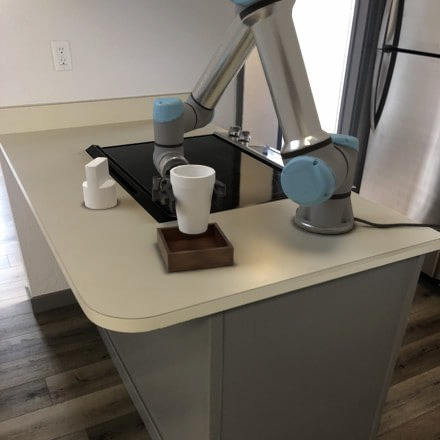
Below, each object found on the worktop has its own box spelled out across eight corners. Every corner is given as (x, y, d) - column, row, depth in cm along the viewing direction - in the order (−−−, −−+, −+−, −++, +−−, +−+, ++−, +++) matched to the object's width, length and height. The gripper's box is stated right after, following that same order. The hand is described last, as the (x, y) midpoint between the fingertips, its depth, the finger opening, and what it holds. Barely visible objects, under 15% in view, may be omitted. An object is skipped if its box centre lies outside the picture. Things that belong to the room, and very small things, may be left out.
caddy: (216, 238, 120) (216, 222, 118) (233, 264, 108) (233, 247, 106) (157, 244, 117) (156, 227, 114) (168, 272, 105) (167, 254, 102)
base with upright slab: (110, 210, 135) (105, 167, 129) (79, 207, 136) (73, 165, 130) (121, 199, 143) (117, 158, 137) (92, 197, 144) (87, 156, 138)
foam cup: (192, 217, 115) (191, 162, 108) (222, 227, 110) (223, 170, 103) (163, 229, 108) (161, 171, 102) (194, 240, 103) (193, 181, 97)
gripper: (219, 184, 125) (246, 217, 106) (133, 190, 119) (146, 226, 101) (220, 155, 121) (248, 184, 102) (130, 160, 116) (143, 191, 97)
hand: (197, 204), depth 102 cm, fingers closed on foam cup, 9 cm apart
